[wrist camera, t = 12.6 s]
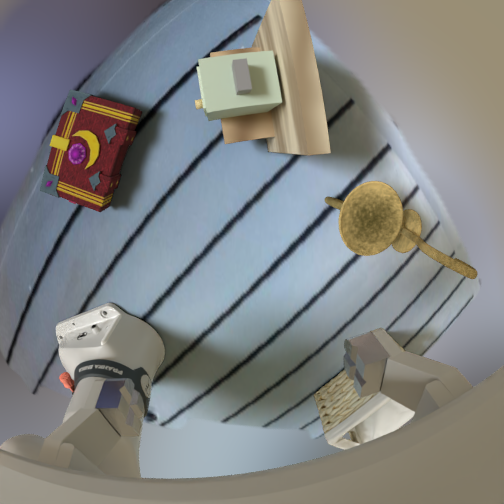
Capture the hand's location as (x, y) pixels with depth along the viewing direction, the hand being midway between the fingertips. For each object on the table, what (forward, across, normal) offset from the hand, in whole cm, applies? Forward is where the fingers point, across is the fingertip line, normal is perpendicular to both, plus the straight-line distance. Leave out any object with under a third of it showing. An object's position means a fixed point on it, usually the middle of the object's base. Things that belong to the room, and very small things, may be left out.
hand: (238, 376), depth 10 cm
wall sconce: (+33, -20, +4) cm, 39 cm away
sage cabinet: (+27, -4, -14) cm, 31 cm away
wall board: (+33, -7, -14) cm, 37 cm away
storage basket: (+33, -24, +44) cm, 60 cm away
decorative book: (+34, +17, -12) cm, 39 cm away
